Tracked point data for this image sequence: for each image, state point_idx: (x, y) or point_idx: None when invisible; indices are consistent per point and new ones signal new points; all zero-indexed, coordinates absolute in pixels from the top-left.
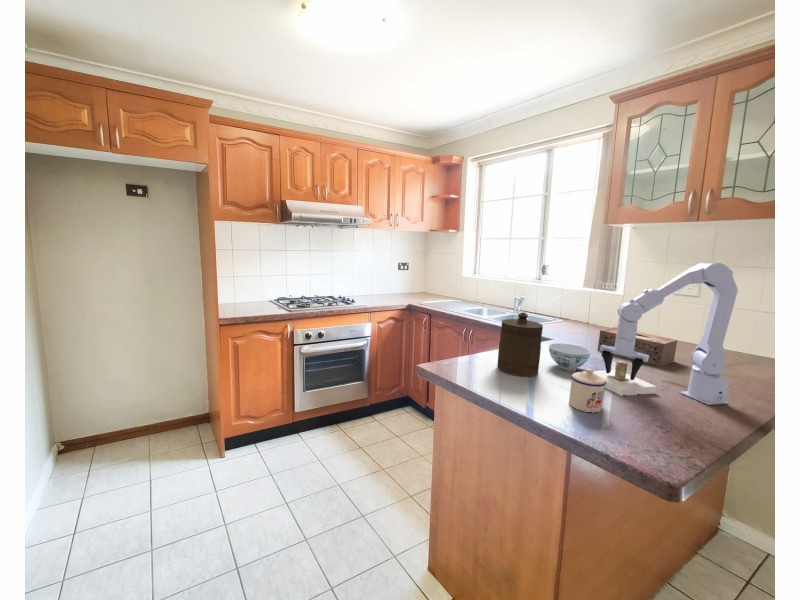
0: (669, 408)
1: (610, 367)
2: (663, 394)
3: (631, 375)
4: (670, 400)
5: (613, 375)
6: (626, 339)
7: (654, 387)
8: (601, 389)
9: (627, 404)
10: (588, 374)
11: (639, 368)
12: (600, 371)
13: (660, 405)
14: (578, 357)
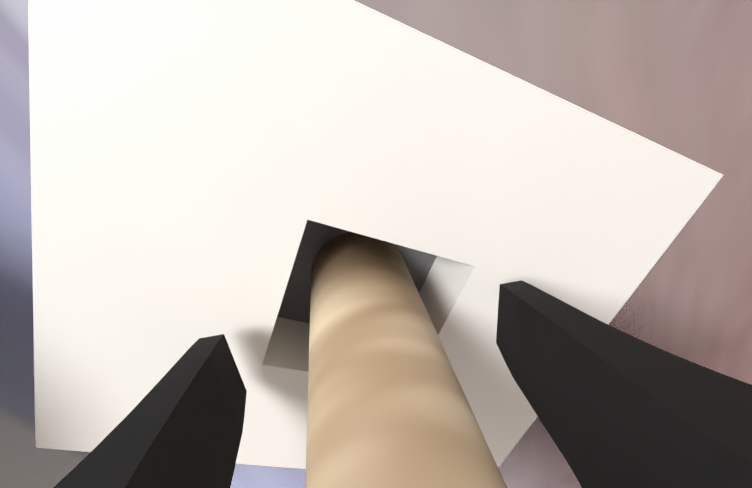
0: (716, 344)
1: (203, 408)
2: (713, 97)
3: (534, 395)
4: (747, 200)
5: (267, 291)
6: None
7: (692, 196)
8: None
9: (527, 477)
10: None
11: (702, 374)
12: (75, 307)
13: (673, 350)
14: None
